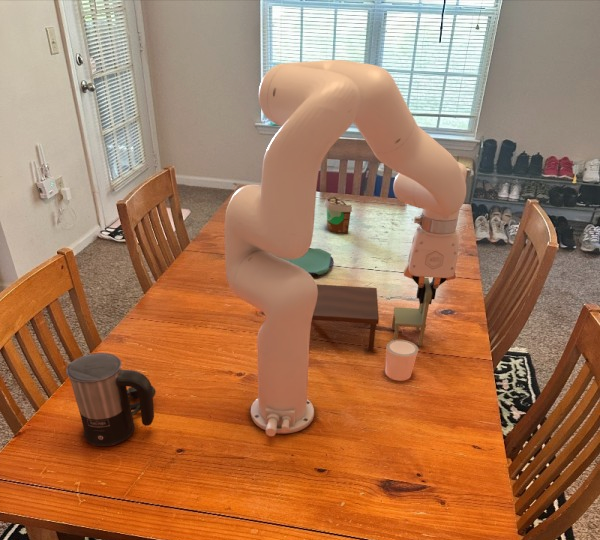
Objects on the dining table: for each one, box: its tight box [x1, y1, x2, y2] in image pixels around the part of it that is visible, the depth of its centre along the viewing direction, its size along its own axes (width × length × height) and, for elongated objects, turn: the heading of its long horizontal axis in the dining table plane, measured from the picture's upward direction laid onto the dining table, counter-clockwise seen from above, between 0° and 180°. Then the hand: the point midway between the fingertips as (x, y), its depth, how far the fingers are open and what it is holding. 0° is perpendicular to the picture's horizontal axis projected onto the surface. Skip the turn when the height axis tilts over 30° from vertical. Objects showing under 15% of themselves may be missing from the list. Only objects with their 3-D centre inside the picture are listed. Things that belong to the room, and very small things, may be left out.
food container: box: [324, 194, 353, 235], centre depth 191 cm, size 12×6×10 cm, turn 25°
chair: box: [390, 277, 432, 347], centre depth 133 cm, size 8×7×14 cm
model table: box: [312, 283, 380, 352], centre depth 136 cm, size 16×18×9 cm
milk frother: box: [65, 352, 156, 447], centre depth 106 cm, size 14×16×15 cm
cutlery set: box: [272, 247, 335, 276], centre depth 170 cm, size 20×30×2 cm, turn 83°
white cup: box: [384, 339, 419, 382], centre depth 123 cm, size 7×7×7 cm
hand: (424, 301), depth 132 cm, fingers closed
